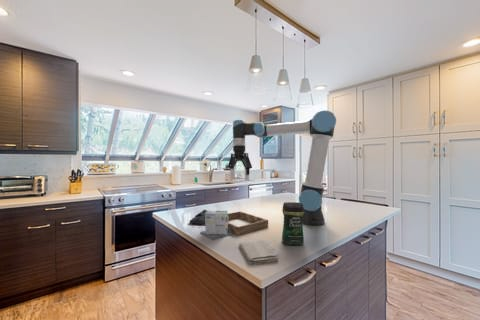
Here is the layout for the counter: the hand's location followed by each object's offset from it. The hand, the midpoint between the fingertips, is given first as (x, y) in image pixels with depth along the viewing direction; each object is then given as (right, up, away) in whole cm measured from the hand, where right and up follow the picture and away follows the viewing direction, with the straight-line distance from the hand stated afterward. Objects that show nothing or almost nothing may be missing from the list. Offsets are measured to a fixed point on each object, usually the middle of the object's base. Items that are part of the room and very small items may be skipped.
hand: (239, 179), depth 135 cm
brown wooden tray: (0, -26, -9) cm, 27 cm away
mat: (-12, -26, -23) cm, 37 cm away
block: (-10, -26, -6) cm, 28 cm away
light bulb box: (-12, -25, -23) cm, 36 cm away
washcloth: (+7, -27, -46) cm, 54 cm away
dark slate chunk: (-23, -26, +2) cm, 35 cm away
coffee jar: (+25, -26, -35) cm, 50 cm away
